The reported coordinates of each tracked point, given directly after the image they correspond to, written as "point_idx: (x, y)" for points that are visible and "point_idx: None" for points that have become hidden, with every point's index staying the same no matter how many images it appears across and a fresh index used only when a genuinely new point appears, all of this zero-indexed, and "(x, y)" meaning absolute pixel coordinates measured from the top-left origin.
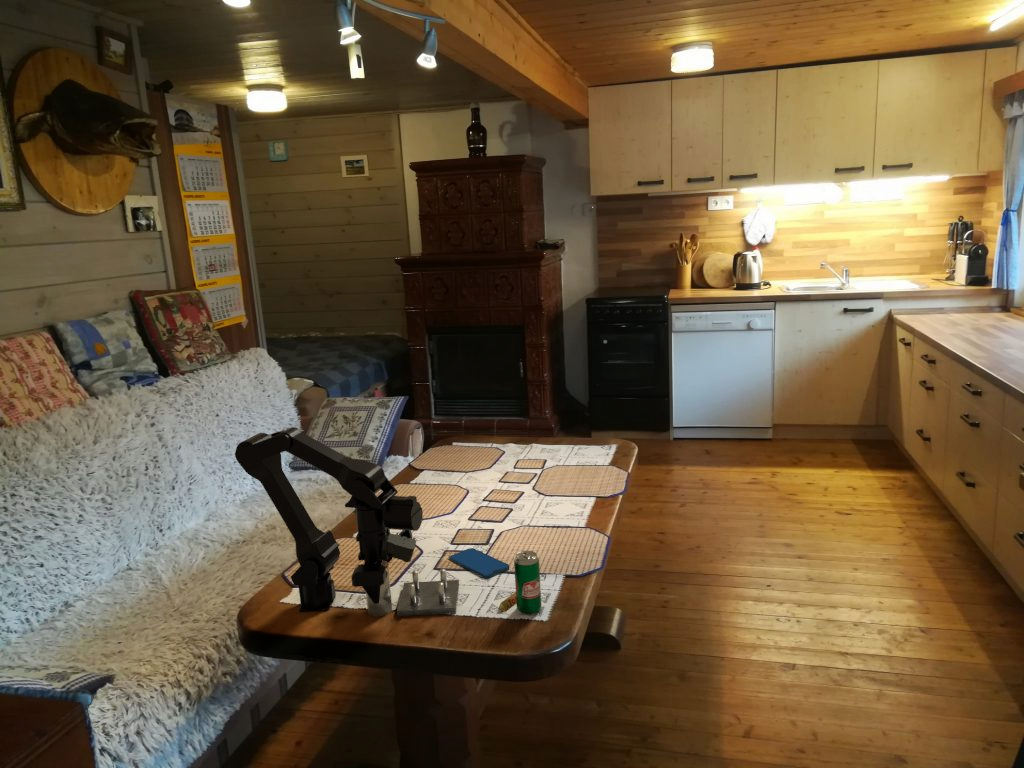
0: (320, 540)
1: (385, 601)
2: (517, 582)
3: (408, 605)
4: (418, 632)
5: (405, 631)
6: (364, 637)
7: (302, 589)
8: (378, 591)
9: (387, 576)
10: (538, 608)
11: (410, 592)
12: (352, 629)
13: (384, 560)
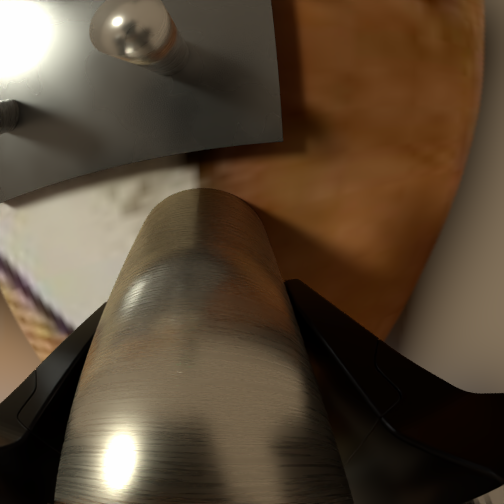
0: None
1: (260, 242)
2: None
3: (205, 77)
4: (422, 26)
5: (416, 81)
6: (422, 249)
7: None
8: (375, 344)
9: (224, 413)
10: None
11: (175, 42)
12: (360, 307)
13: (15, 496)
